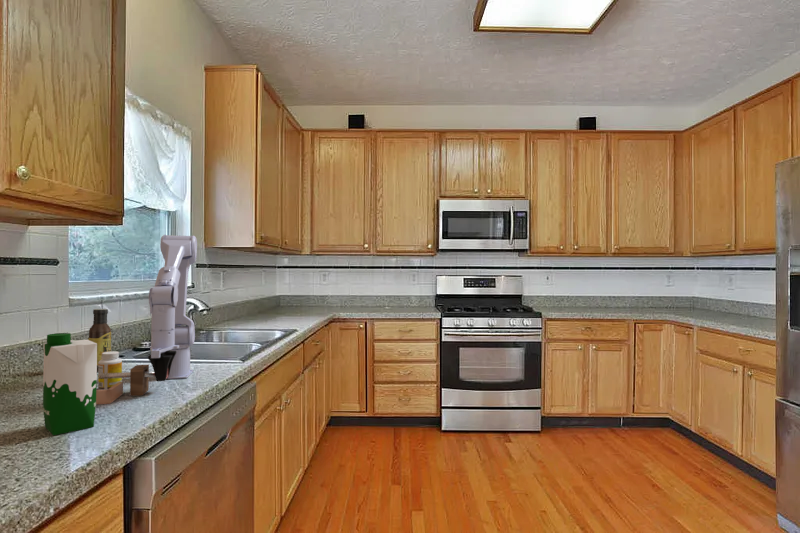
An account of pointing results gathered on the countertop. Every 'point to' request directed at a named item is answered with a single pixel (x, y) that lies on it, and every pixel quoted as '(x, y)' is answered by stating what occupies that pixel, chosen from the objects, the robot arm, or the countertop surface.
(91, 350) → the milk carton
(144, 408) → the countertop surface
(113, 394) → the dock
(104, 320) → the sauce bottle
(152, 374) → the lock pin
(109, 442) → the countertop surface
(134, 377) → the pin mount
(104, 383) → the supplement bottle
